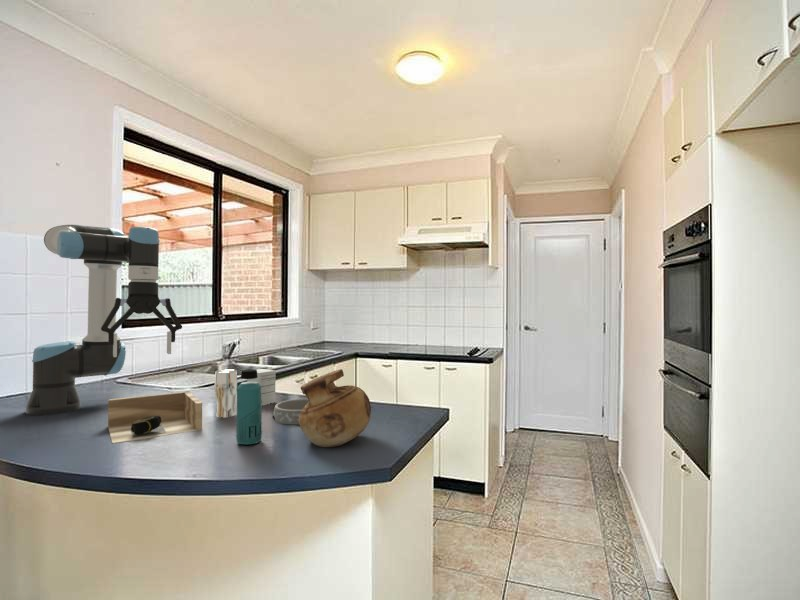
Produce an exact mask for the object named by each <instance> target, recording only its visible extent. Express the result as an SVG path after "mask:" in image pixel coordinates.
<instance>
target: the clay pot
mask: <svg viewBox="0 0 800 600" xmlns="http://www.w3.org/2000/svg"><path fill="white" fill-rule="evenodd" d="M344 376H345V375H344V371H343V369H337V370H334V371H332V372H328V373H326V374H324V375H323V374H322V375H321V376H319V377H316V378H314V379H312V380H310V381H308V382H306V383H304V384H302V385H301V386H300V390H301V393H302V394H303V395H305V396H306V399H308V400H309V402H308V403H307V404H306V406H305V407H304V408H303V410H302V412H301V414H300V417H299V424H298V425H299V426H300V429H301V431H302V432H303V434H304V435H305V436H306V438H307V439H308V440H309V441H310V442H311V443H313V444H314V445H315V446H318V447H320V448H321V447H323V448H335V447H338V446H342V445H344V444H346V443H348V442H350V441H351V440H353V439H355V438H356V437H358V436H359V435H360V434H361V433H363V432H364V430H366V428H367V426H368V425H369V423H370V419H371V415H372V414H371V413H372V407H371V406H372V405H371V401H370V398H369V396H368V395H367V393H366V392H365V391H364V390H363V389H362V388H360V387H359V386H356V385H340V386H338V385H336V384H335V382H336V381H337V380H339V379H341V378H342V377H344Z"/></svg>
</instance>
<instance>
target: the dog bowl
mask: <svg viewBox="0 0 800 600" xmlns="http://www.w3.org/2000/svg"><path fill="white" fill-rule="evenodd" d="M308 402H309V400H308V398H294V399H287V400H283V401H280V402H278V403H277V404H274V405H275V406H274V409H273V414H272V418H274V420H275V421H274V422H275V423H278V424H283V425H300V424H299V417H300V414H301V412H302V410H303V408H304V407H305V406H306V404H307V403H308Z"/></svg>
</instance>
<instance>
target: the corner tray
mask: <svg viewBox="0 0 800 600" xmlns="http://www.w3.org/2000/svg"><path fill="white" fill-rule="evenodd" d="M107 403H108V404H107V427H108V428H107V429H108V432H109V437H110V441H111V444H120V443H125V442H126V443H127V442H132V441H138V440H144V439H151V438H152V439H153V438H157V437H163V436H168V435H169V436H170V435H175V434H181V433H182V434H183V433H189V432H194V431H195V432H196V431H201V430H203V402H202V401H201V400H200V399H198V398H197V397H196V396H195V395H194V394H193V393H191V392H190V391H187V390H186V391H178V392H170V393H168V392H167V393H159V394H152V395H139V396H131V397H123V398H122V397H121V398H120V397H119V398H111V399H108V401H107ZM151 416H160V417H161V423H160V426H159V427H158V428H156V429H154V430H151V432H149V433H146V434H144V433H141V434H135V433H134V432H132V430H131V427H132V423H133V422H135V421H137V420H140V419H143V418H147V417H151Z"/></svg>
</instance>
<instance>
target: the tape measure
mask: <svg viewBox="0 0 800 600" xmlns="http://www.w3.org/2000/svg"><path fill="white" fill-rule="evenodd" d="M160 423H161V417H160V416H151V417H147V418H143V419H140V420H137V421H135V422H133V423H132V427H131V430H132V432H134V433H135V434H141V433H144V434H146V433H149V432H151V430H154V429H156V428H158V427H159V426H160Z"/></svg>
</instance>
